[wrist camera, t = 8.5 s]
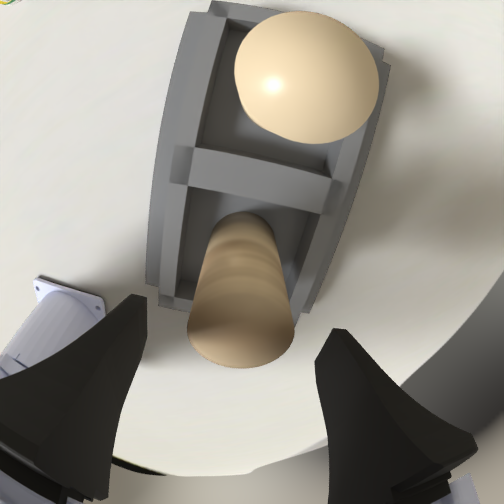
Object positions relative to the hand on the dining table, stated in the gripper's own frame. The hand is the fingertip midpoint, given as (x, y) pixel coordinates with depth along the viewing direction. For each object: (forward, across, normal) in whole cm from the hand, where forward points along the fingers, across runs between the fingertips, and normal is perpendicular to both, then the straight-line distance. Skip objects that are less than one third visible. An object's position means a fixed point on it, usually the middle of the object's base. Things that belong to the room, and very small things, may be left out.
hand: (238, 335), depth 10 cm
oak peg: (+8, 0, 0) cm, 8 cm away
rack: (+9, 0, -5) cm, 10 cm away
